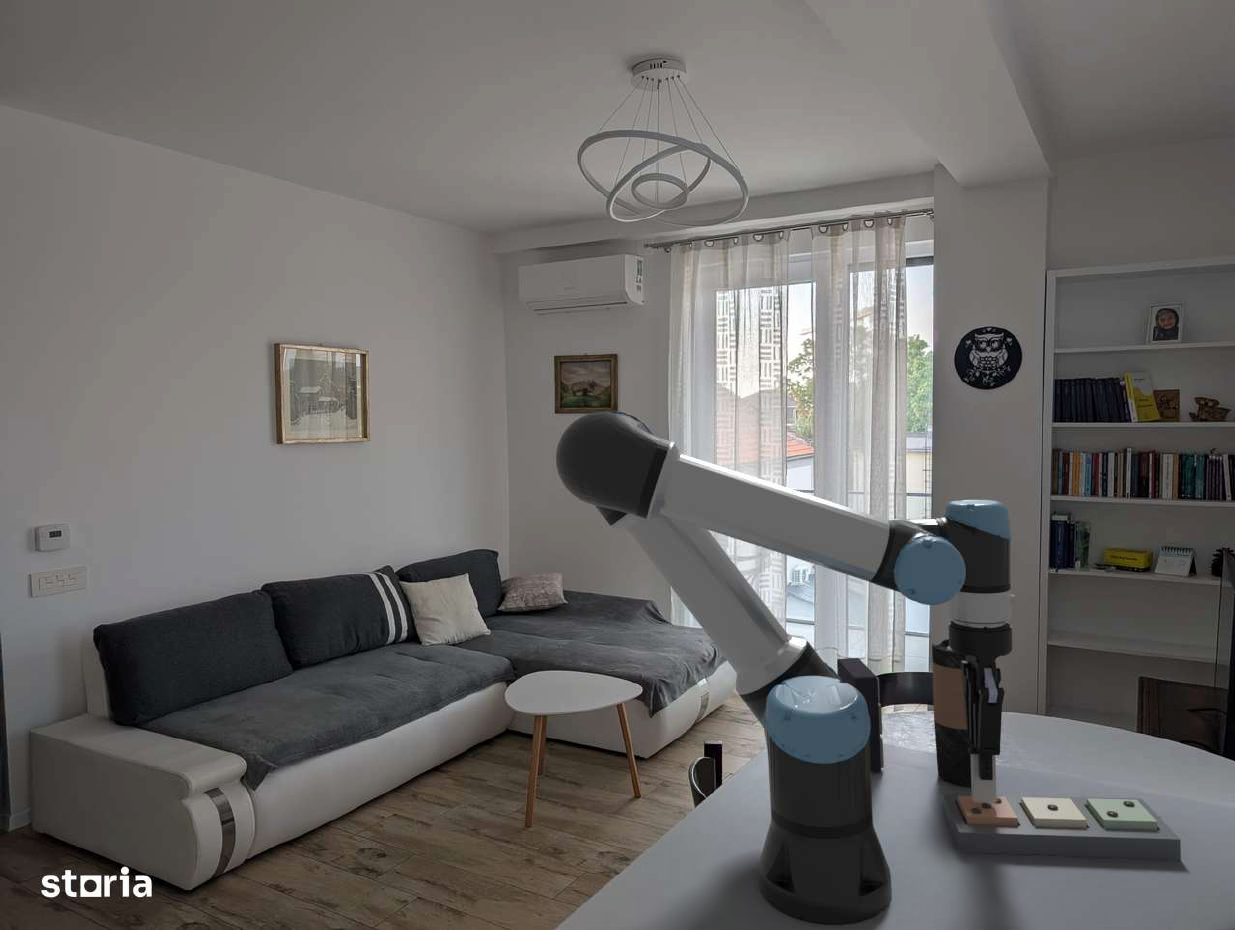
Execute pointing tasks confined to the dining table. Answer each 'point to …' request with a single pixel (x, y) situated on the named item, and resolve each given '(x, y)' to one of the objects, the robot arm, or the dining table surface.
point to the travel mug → (950, 716)
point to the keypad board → (1061, 835)
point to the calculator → (868, 686)
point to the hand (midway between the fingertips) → (983, 799)
